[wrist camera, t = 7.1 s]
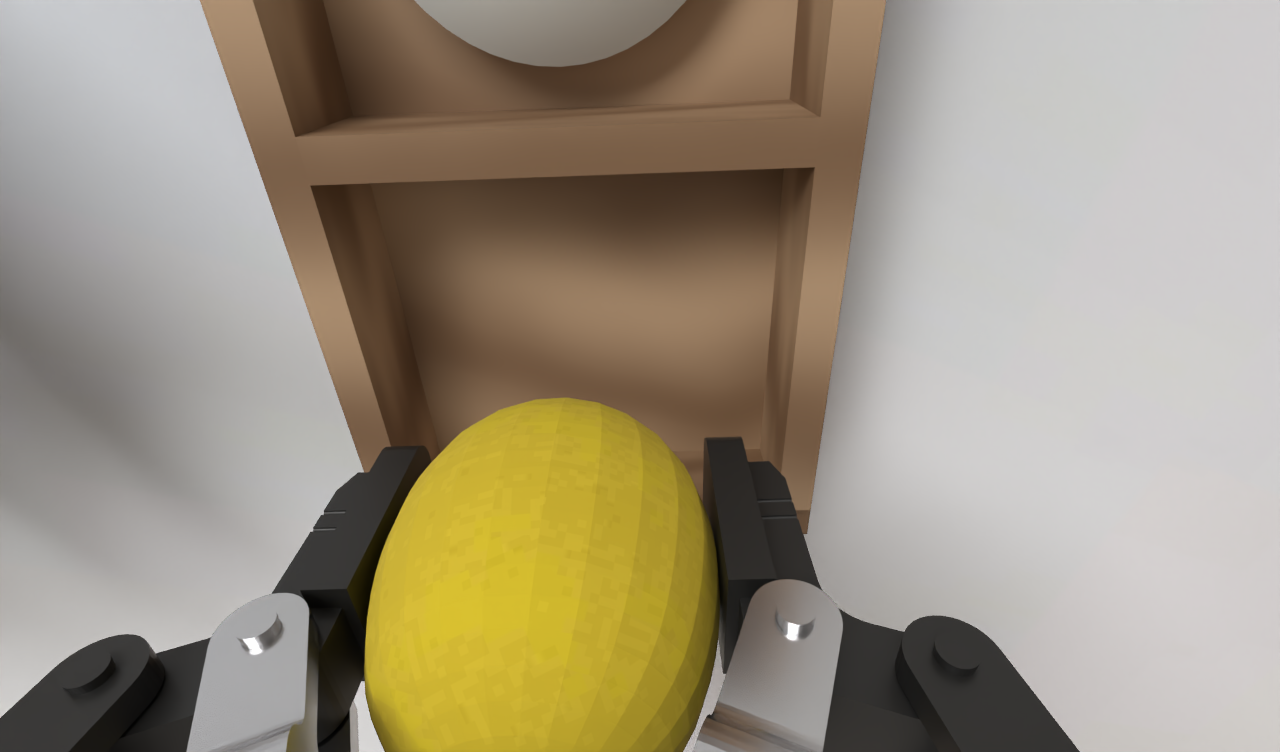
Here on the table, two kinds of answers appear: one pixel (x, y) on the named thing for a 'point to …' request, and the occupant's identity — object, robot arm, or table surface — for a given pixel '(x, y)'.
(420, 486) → the lemon
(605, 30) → the white egg
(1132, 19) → the table surface
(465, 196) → the divided wooden tray
